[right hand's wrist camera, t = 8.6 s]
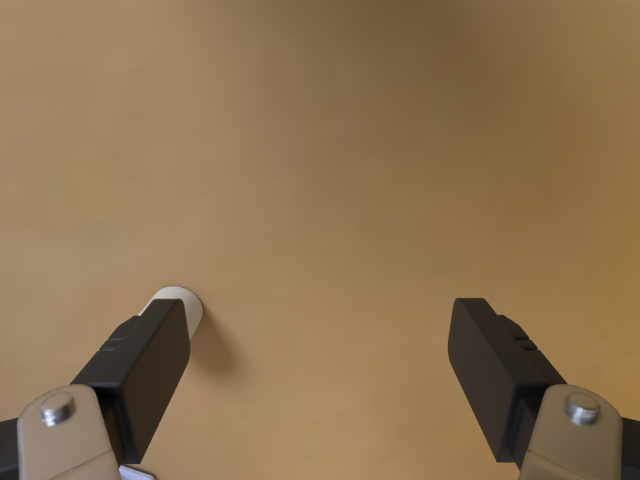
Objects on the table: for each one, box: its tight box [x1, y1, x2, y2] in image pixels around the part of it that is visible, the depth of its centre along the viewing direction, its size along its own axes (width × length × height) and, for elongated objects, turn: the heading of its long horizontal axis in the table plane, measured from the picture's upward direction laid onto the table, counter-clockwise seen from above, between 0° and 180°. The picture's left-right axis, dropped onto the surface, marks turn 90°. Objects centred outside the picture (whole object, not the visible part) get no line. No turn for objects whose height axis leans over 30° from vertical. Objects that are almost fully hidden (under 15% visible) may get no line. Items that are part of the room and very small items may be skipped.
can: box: [138, 286, 203, 340], centre depth 26 cm, size 4×4×4 cm
